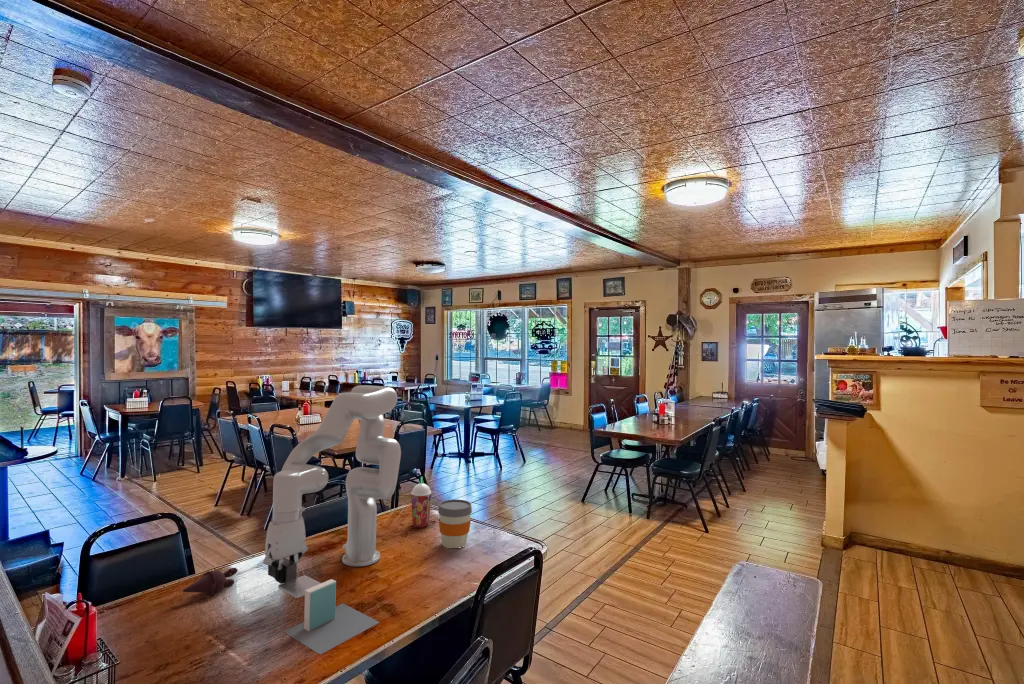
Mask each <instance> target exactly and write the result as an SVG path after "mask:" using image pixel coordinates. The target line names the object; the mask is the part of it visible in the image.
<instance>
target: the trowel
mask: <svg viewBox="0 0 1024 684" xmlns="http://www.w3.org/2000/svg"><path fill="white" fill-rule="evenodd" d="M271 560H273V558H271ZM273 561H274V560H273ZM267 569H268V570H267V575H268V576H270V577H272V578H274V579H275V568H274V567H273V566H271V565H267ZM283 569H284V583H282V584H281V583H280V584H278V586H277V588H278V590H281V591H282V592H284V593H287V594H288V595H290V596H292V597H293V598H295V599H299V598H301V597H305V590H306V589H309V588H311V587H314V586H316V585H318V584H321V583H322V582H319V581H318V580H315V579H314V578H312V577H309V576H308V575H306V574H304V575H302V576H299V577H298V576H297V572H298V571H297V569H298V564H297V563H295V562H293V561H291V560H289V558H287V557H285V558H283Z"/></svg>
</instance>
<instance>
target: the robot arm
mask: <svg viewBox="0 0 1024 684" xmlns="http://www.w3.org/2000/svg"><path fill="white" fill-rule="evenodd" d="M397 403H398V394H397V392H396V390H395V389H394V388H392V387H390V386H384V385H383V386H382V385H381V386H380V385H366V384H364V385H363V384H362V385H356V386H354V387H353V388H352V389H351V391H350V392H341V393H338V394H337V395H336V397H334V399H333V400H332V403H331V405H330V406H329V408H328V410H327V412H326V413H325V416H324V417H323V419H322V421H321V423H320V424H319V426H318V428H317V430H316V431H314V432H313V433H311V434H310V435H308V436H307V437H306V438H304V439H303V440H302V441H301V442H299V443H298V444H297V445H296V446H295V447H294V448H293V449H292V450H291V451H290V453H289V455H288V457H287V459H286V460H285V461H284V463H283V466H282V469H281V471H277V472H276V473H275V474H274V476H273V480H272V481H273V485H272V521H269V523H268V527H267V531H266V538H265V545H264V555H265V556H264V558H263V561H262V563H263V564H264V565H265V566H266V565H267V566H268V565H271V566H273V567H274V568H275V578H274V579H275V581H276V582H277V583H279V584H280V585H281V584H283V583H284V569H283V558H288V560H291V561H293V562H295V563H297V565H298V564H299V560H300V559H301V557H302V556H303V555H304V554H305V553H306V552H307V551H308V550H309V548H308V546H307V544H306V543H307V542H306V541H307V540H306V539H307V538H306V537H307V536H306V525H305V520H304V516H303V515H302V514H303V512H305V511H306V507H305V506H302V505H303V504H302V502H303V500H302V498H303V495H305V494H311V493H317V492H319V491H321V490H323V489H324V488H325V487H326V486H327V484H328V482H329V473H328V471H327V470H326V468H324V467H322V466H319V465H313V464H307V463H308V461H309V460H311V458H313V457H314V456H315V455H317V454H318V453H320V452H322V451H324V450H327V449H329V448H333V447H336V446H338V445H340V444H341V443H343V441H344V440H345V437H346V435H347V433H348V431H349V430H350V427H351V426H352V423H354V422H353V421H354V420H359V421H360V422H359V429H358V435H357V440H356V441H357V442H356V446H355V447H356V448H355V458H356V460H357V461H358V462H360V463H364V464H367V465H368V464H369V465H375V466H376V465H377V466H379V469H377V468H373V467H365V466H359V467H358V466H357V467H355V468H353V469H351V470H350V471H348V474H347V476H346V478H345V489H346V497H347V504H348V507H347V509H348V510H347V540H346V542H345V543H343V544H342V549H344V550H345V553H344V555H343V556H342V559H341V560H342V561H341V562H342V563H343V564H344V565H345V566H349V567H355V568H357V567H366V566H371V565H373V564H375V563H377V562H379V560H380V558H381V553H380V551H378V550H377V517H378V515H377V514H378V508H377V502H376V499H379V500H388V499H389V498H391V497H392V496H393V494H394V493H395V491H396V487H397V483H398V477H399V470H400V463H401V458H402V450H401V445H400V443H399V442H398V441H397V440H396V439H394V438H391V437H386V436H385V437H384V434H385V425H386V423H385V418H384V415H385V414H387V413H389V412H391V411H392V410H393V409H395V407H396V406H397ZM271 558H273V560H274V561H273V560H271Z"/></svg>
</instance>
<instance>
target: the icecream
mask: <svg viewBox="0 0 1024 684" xmlns="http://www.w3.org/2000/svg"><path fill="white" fill-rule="evenodd" d="M238 571H239V569H238V568H237V567H231V568H229V569H227V570H226V571H224V572H222V571H220V570H210V571H209V570H207V571H206V572H205V573H203V574H202V576H201V578H199V579H197V580H196V581H195V582H193V583H191V584H190V585H188V586H187V587H185V588H184V589H182V592H183V593H198V594H201V593H202V594H204V595H205V594H207V595H206V596H208V595H209V597H212V596H213V595H214V594H217V593H220V591H221V590H223V588H229V587H231V586H233V585H234V584H235V580H234V579H232V578H231V577H232V576H234V575H236V574H237V573H238ZM228 586H229V587H228Z"/></svg>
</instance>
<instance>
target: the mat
mask: <svg viewBox="0 0 1024 684" xmlns="http://www.w3.org/2000/svg"><path fill="white" fill-rule="evenodd" d="M378 624H380V621H378V620H376V619H374V618H372V617H370V616H369V615H366V614H365V613H362V612H361V611H359V610H356V609H354V608H353V607H351V606H349V605H347V604H345V603H340V604H338V605H336V607H335V618H334V619H332V620H330V621H328V622H326V623H324V624H322V625H320V626H318V627H316V628H314V629H312V630H310V631H307V630H306V629H304V621H302V622H299V623H298V624H296V625H294V626H291V627H290V628H287V629H285V630H283V631H282V632H283V633H285V634H286V635H288V636H289V637H291V638H293V639H294V640H296V641H297V642H299V643H301V644H302V645H304V646H305V647H307V648H309V649H310V650H312V651H313V652H314V653H317V654H318V655H320V656H321V655H323V654H324V653H326V652H328V651H330V650H332V649H333V648H335V647H337V646H339V645H341V644H343V643H345V642H347V641H348V640H350V639H353V638H354V637H357V636H358V635H359V634H361V633H364V632H365V631H366V630H369V629H370V628H372V627H373V626H376V625H378Z"/></svg>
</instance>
